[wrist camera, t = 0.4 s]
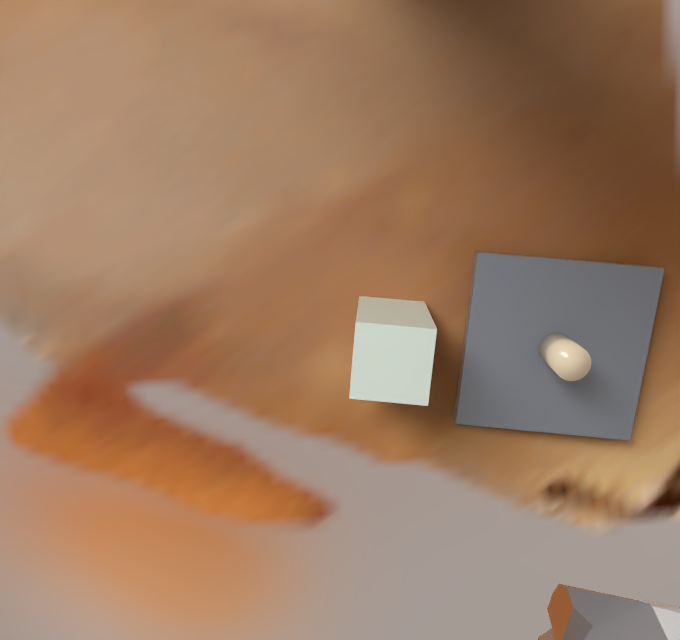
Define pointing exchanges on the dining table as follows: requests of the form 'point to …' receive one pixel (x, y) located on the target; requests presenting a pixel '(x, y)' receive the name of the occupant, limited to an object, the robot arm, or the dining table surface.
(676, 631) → the robot arm
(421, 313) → the cover
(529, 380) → the board
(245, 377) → the dining table surface
